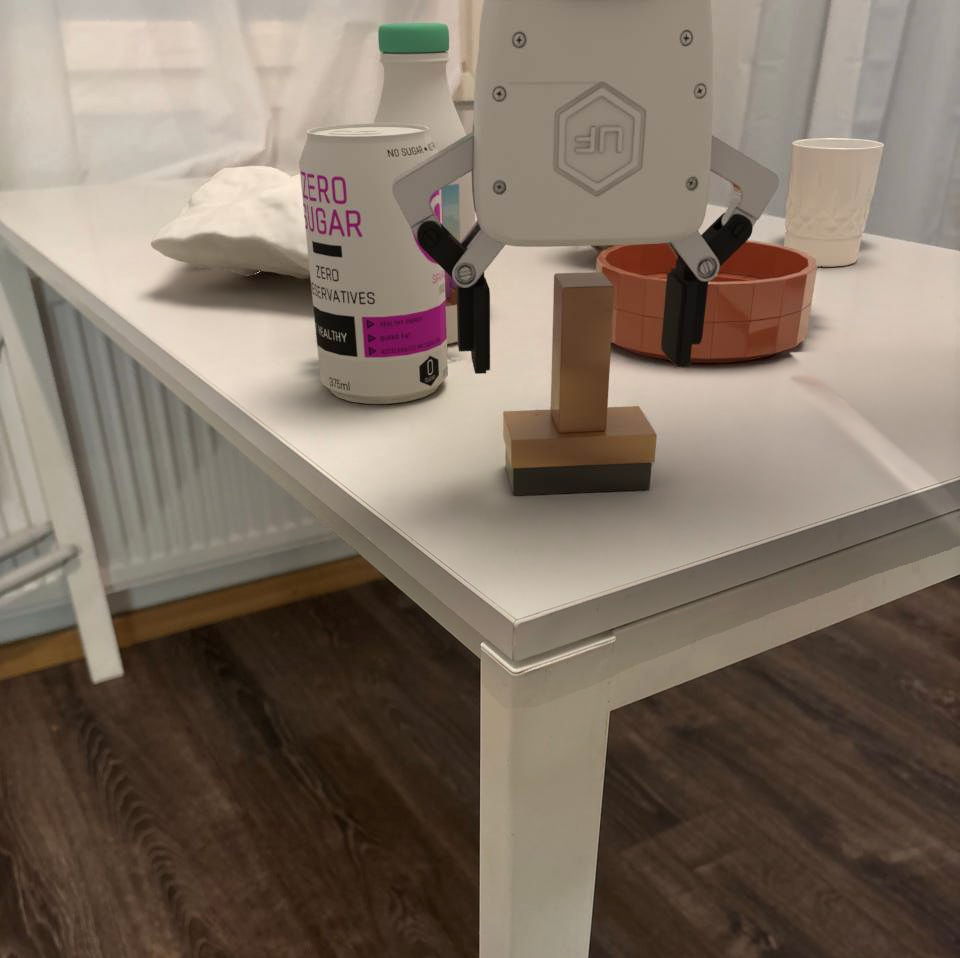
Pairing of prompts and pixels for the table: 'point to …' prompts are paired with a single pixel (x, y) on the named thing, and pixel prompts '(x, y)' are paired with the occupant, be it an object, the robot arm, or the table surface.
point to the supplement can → (371, 265)
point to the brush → (579, 407)
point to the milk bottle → (427, 118)
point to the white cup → (830, 197)
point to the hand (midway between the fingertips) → (577, 362)
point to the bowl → (714, 300)
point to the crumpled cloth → (242, 224)
